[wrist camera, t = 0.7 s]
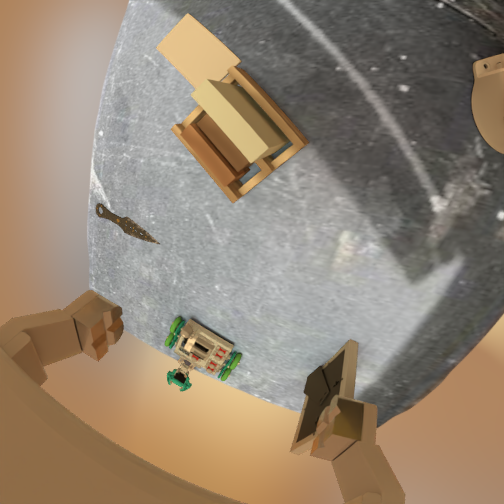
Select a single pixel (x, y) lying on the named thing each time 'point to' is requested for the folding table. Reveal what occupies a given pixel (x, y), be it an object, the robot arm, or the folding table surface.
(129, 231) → the throwing knife
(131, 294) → the folding table surface
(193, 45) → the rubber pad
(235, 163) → the walnut offcut
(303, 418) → the picture frame
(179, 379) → the robot kit
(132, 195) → the folding table surface
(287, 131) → the offcut rack
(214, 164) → the cedar offcut
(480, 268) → the folding table surface
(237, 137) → the tan wooden plank
